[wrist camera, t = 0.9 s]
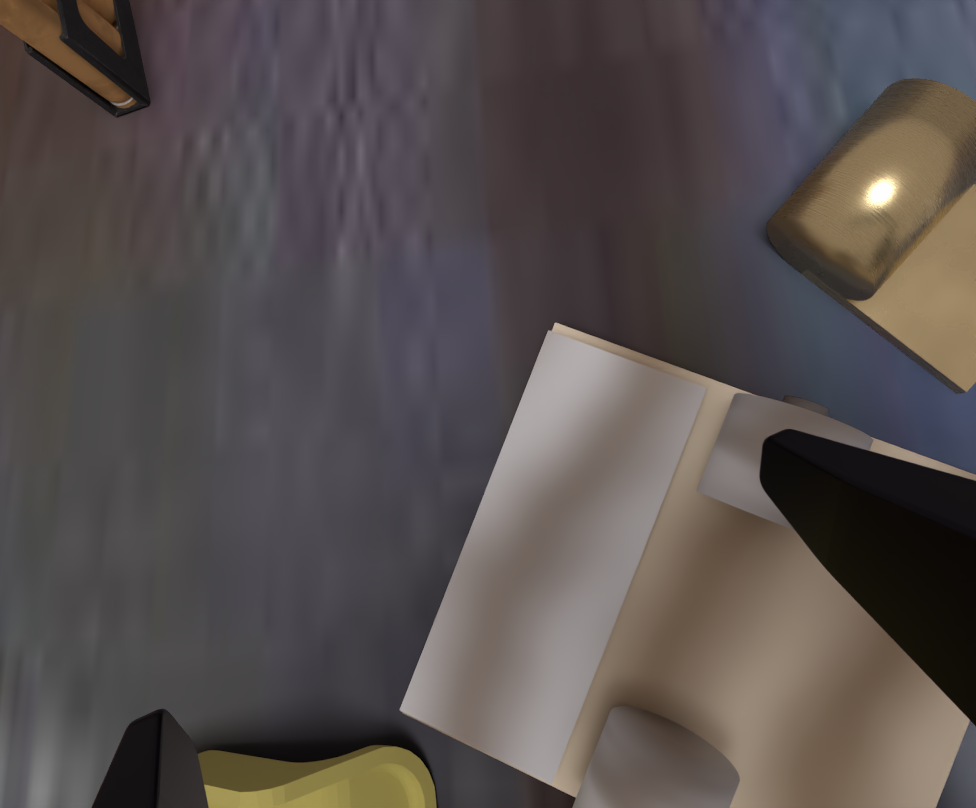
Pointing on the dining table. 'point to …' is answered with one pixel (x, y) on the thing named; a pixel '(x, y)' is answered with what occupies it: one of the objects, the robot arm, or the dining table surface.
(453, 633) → the hinge base
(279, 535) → the dining table surface
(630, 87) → the dining table surface
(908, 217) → the brass cylinder with flap
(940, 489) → the robot arm
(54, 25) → the ammunition clip
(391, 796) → the plastic component
